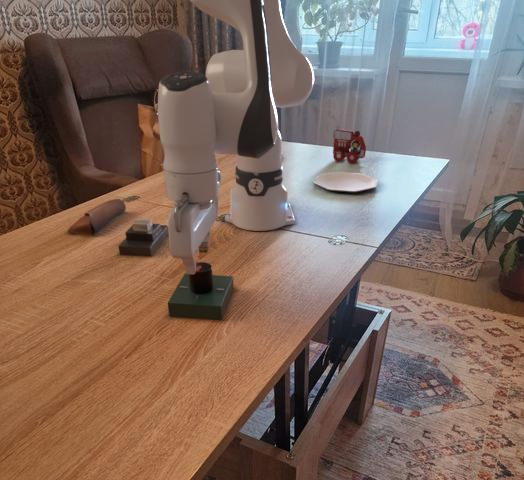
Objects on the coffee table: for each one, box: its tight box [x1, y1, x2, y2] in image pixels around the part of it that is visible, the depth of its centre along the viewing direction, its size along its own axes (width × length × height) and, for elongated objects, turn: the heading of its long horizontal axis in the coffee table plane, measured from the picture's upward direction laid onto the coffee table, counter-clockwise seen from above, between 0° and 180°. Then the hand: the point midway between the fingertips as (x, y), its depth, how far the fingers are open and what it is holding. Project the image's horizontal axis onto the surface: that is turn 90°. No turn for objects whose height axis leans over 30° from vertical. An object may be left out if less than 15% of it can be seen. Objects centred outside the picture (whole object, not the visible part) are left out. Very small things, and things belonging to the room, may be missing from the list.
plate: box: [313, 171, 379, 194], centre depth 154 cm, size 20×20×2 cm
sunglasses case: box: [67, 198, 127, 237], centre depth 127 cm, size 18×7×7 cm
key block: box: [117, 223, 169, 258], centre depth 116 cm, size 14×8×4 cm, turn 172°
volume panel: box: [167, 272, 235, 321], centre depth 93 cm, size 12×10×3 cm
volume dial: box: [189, 261, 213, 294], centre depth 91 cm, size 4×4×5 cm
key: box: [131, 217, 154, 232], centre depth 114 cm, size 4×4×2 cm
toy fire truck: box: [332, 129, 367, 164], centre depth 176 cm, size 7×12×10 cm, turn 66°
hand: (198, 261), depth 88 cm, fingers open, 8 cm apart
